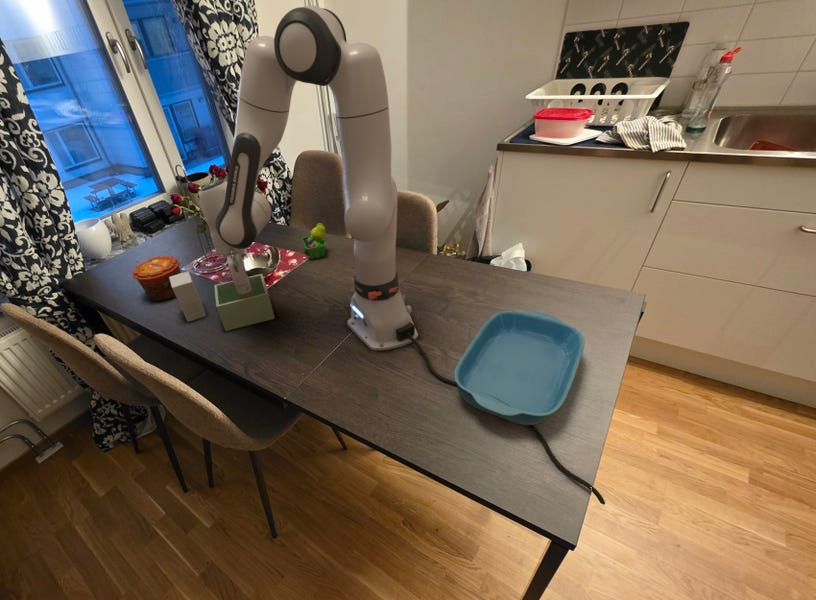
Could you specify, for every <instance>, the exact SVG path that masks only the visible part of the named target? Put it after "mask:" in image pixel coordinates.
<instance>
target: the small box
mask: <svg viewBox="0 0 816 600" xmlns="http://www.w3.org/2000/svg"><path fill="white" fill-rule="evenodd" d="M169 279H170V283H171V286H172V289H173V291H174V293H175V295H176V296H175V297H176V300H177V302H178V304H179V306H180V308H181V310H182V311H181V312H182V313H183V315H184V317H185V320H186V322H187V323H189V322H192V321H196V320H199V319H201V318H204V317H206V316H207V313H206V310H205V307H204V306H203V302H202V301H201V299H200V296H199V294H198V291H197V289H196V287H195V284H194V281H193V278H192V277H191V274H190V272H189V271H184V272H181V273H180V274H177V275H174V276H171V277H169Z"/></svg>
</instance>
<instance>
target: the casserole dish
mask: <svg viewBox="0 0 816 600" xmlns="http://www.w3.org/2000/svg"><path fill="white" fill-rule="evenodd" d="M584 349H585V337H584V335H583V333H582V332H581V330H578V329H577V328H576V327H574V326H573V325H571V324H568V323H565V322H563V321H562V320H561V319H559V318H557V316H554V315H552V314H549V313H545V312H542V311H537V310H522V311H516V310H504V311H503V310H502V311H499V312H497V313H495V314H493V315H492V316H491V317H488V319H487V320H486V322H485V323H484V324H483V325H482V326H481V328H480V329H479V331H478V332H477V334H476V336H474V338H473V340H472V341H471V343H469V346H468V347H467V349H466V350H465V352H464V353H463V355H461V357H460V359H459V361H458V363H457V364H456V366H455V370H454V375H453V376H454V377H453V378H454V382H456V384H457V390H458V392H459V394H460V396H461V398H462V399H463V400H464V401H465V402H466V403H467V404H468V405H470V406H472V407H474V408H475V409H478V410H480V411H483V412H485V413H488V414H490V415H492V416H496V417H498V418H501V419H504V420H506V421H510V422H511V423H515V424H519V425H525V426H528V425H533V426H534V425H538V424H540V423H542V422H544V421H545V420H547V419H548V418H549V417H551V416H552V415H553V414H555V413H556V412H557V411H559V409H560V408H561V407H562V406H563V404H564V403H565V401H566V399H567V398H568V395H569V393H570V390H571V388H572V385H573V383H574V380H575V377H576V374H577V371H578V368H579V365H580V364H581V363H580V362H581V360H582V357H583V353H584ZM487 394H488V395H487ZM489 395H490V396H489ZM492 396H493V397H492ZM494 397H495V398H494ZM496 398H497V399H499V400H501V401H502V402H501V401H499V400H497V399H496ZM503 402H504V403H503ZM505 403H506V404H507V405H506V404H505ZM508 405H509V406H510V407H509V406H508Z"/></svg>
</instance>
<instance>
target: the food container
mask: <svg viewBox="0 0 816 600" xmlns="http://www.w3.org/2000/svg"><path fill="white" fill-rule="evenodd" d="M180 273H182V271H181V269H180V260H179V259H178V258H176V257H174V256H172V255H162V256H160V255H159V256H154V257H151V258H148V260H146V261H141V262H140V263H139V264H137V265H136V266H135V268H134V269H133V271H132V277H133V279H134V280H137V282H138V283H139V285H140V286H141V288H142V289H143V291H144V292H145V293H146V295H147V296H148V298H149V299H150V300H152V301H155V302H162V301H163V302H164V301H168V300H171V299H173V298H175V297H176V295H175V293H174V291H173V289H172V286H171V283H170V279H169V277H171V276H174V275H177V274H180Z"/></svg>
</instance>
